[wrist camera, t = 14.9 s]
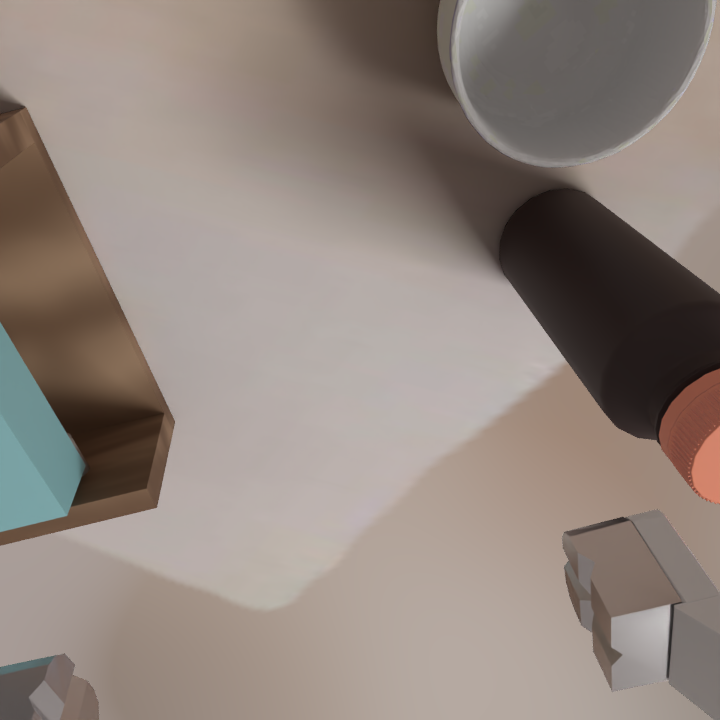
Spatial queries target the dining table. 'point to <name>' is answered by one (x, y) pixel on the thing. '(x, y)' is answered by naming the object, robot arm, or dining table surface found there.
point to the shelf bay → (75, 340)
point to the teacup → (569, 71)
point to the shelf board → (31, 449)
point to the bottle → (624, 324)
